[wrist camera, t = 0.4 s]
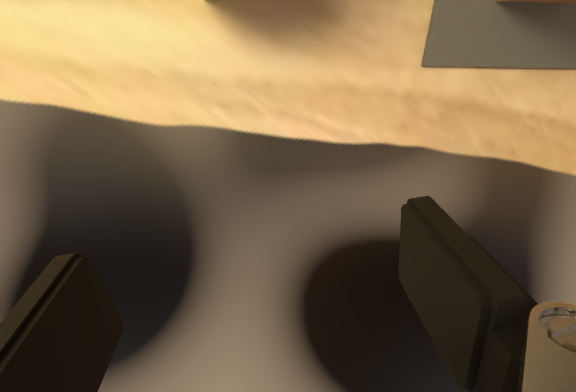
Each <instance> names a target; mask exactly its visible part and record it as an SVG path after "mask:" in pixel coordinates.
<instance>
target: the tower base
mask: <svg viewBox="0 0 576 392" xmlns="http://www.w3.org/2000/svg"><path fill="white" fill-rule="evenodd" d="M496 1H499V2H526V3H552V4H573V3H576V0H496Z"/></svg>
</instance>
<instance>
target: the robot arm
mask: <svg viewBox="0 0 576 392" xmlns="http://www.w3.org/2000/svg"><path fill="white" fill-rule="evenodd" d="M399 278H400V282H401V284H402V286H403V288H404V290H405V292H406V293H407V295H408V297H409V299H410V301H411V302H412V304H413V306H414V308H415V310H416V311H417V313H418V315H419V317H420V319H421V320H422V322H423V324H424V326H425V328H426V329H427V331H428V333H429V335H430V337H431V338H432V340H433V342H434V344H435V346H436V348H437V349H438V351H439V353H440V355H441V357H442V358H443V360H444V362H445V364H446V366H447V367H448V369H449V371H450V373H451V375H452V376H453V378H454V380H455V382H456V384H457V385H458V386H459V387H460V388H461V389H467V391H468V392H576V305H574V304H569V303H564V302H544V303H540V304H538V303H537V302H536V301H535V300H534V299H533V298H531V296H530V295H529V294H528V293H527V292H526V291H525V290H524V289H523V288H522V287H521V286H520V285H519V284H518V283H517V282H516V281H515V280H514V279H513V278H512V277H511V276H510V275H509V274H508V273H507V272H506V271H505V270H504V269H503V268H502V267H501V266H500V265H499V264H498V263H497V262H496V261H495V260H494V259H493V258H492V257H491V256H490V255H489V254H488V253H487V252H486V251H485V250H484V249H483V248H482V247H481V246H480V245H479V244H478V243H477V242H476V241H475V240H474V239H473V238H472V237H470V236H469V235H467V234H466V233H465V232H464V231H463V230H462V229H461V228H460V227H459V226H458V225H457V224H456V223H455V222H454V221H453V220H452V218H450V216H448V214H447V213H446V212H445V211H444V210H443V209H442V208H441V207H440V206H439V205H438V204H437V203H436V202H435V201H434V200H433V199H432V198H431V197H429V196H423V197H417V198H411V199H408V201H407V204H404V205H403V206H402V208H401V229H400V255H399ZM122 331H123V320H122V318H121V316H120V314H119V312H118V311H117V309H116V307H115V305H114V303H113V301H112V300H111V298H110V296H109V294H108V292H107V290H106V289H105V287H104V285H103V283H102V281H101V280H100V278H99V276H98V274H97V272H96V270H95V269H94V267H93V265H92V263H91V261H90V260H89V259H88V258H87V257H83V256H82V255H81V254H79V253H75V254H68V255H63V256H58V257H55V258H54V259H53V260H52V261H51V262H50V264H49V265H48V266H47V267H46V268H45V270H44V271H43V272H42V273H41V275H40V276H39V277H38V278H37V279H36V281H35V282H34V283H33V284H32V285H31V287H30V288H29V289H28V290H27V292H26V293H25V294H24V295H23V297H22V298H21V299H20V300H19V301H18V303H17V304H16V305H15V306H14V308H13V309H12V310H11V311H10V312H9V313H8V315H7V316H6V317H5V318H4V320H3V321H2V322H1V323H0V392H98V389H99V387H100V384H101V382H102V380H103V377H104V375H105V372H106V370H107V368H108V365H109V363H110V360H111V358H112V355H113V353H114V350H115V348H116V346H117V343H118V341H119V339H120V336H121V334H122Z"/></svg>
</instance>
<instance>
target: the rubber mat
mask: <svg viewBox="0 0 576 392" xmlns="http://www.w3.org/2000/svg"><path fill="white" fill-rule="evenodd" d="M421 66H454V67H510V68H566V69H576V3H573V4H552V3H526V2H499V1H496V0H435V1H434V6H433V11H432V16H431V21H430V26H429V30H428V35H427V40H426V45H425V50H424V55H423V60H422V65H421Z"/></svg>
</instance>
